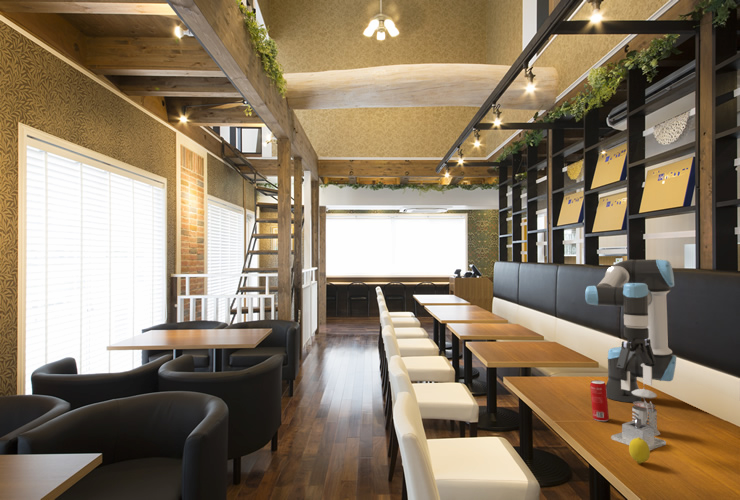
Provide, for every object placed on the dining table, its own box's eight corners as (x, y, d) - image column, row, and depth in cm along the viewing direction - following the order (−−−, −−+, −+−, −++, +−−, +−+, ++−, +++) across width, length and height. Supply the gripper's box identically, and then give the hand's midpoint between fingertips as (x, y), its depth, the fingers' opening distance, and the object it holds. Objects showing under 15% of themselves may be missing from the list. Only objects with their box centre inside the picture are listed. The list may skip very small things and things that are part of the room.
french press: (655, 427, 168) (654, 361, 168) (666, 439, 157) (665, 368, 157) (626, 424, 171) (625, 359, 171) (635, 436, 159) (634, 366, 160)
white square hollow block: (633, 433, 159) (633, 420, 159) (654, 439, 153) (653, 426, 153) (622, 436, 155) (622, 423, 156) (642, 443, 149) (642, 430, 149)
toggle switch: (630, 432, 162) (630, 411, 163) (665, 444, 152) (665, 422, 152) (611, 438, 156) (611, 417, 157) (646, 451, 146) (646, 428, 146)
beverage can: (611, 422, 173) (611, 383, 174) (594, 421, 174) (594, 383, 174) (604, 417, 179) (604, 379, 179) (588, 416, 180) (587, 379, 180)
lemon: (625, 459, 140) (624, 434, 140) (641, 459, 140) (641, 433, 141) (637, 467, 134) (636, 441, 135) (654, 467, 135) (653, 440, 135)
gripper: (644, 322, 166) (645, 379, 165) (604, 327, 153) (605, 389, 153) (666, 325, 159) (667, 384, 159) (626, 330, 147) (626, 394, 146)
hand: (636, 387), depth 156 cm, fingers open, 13 cm apart
